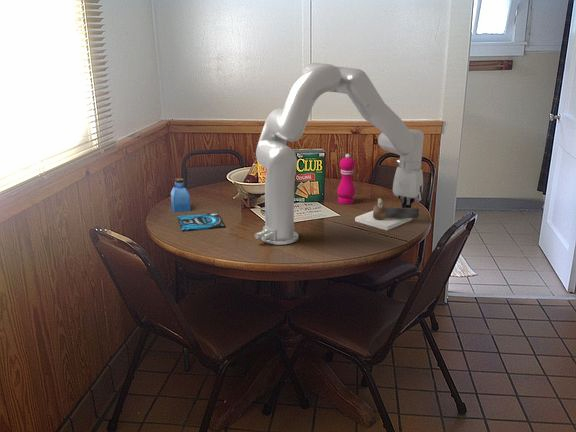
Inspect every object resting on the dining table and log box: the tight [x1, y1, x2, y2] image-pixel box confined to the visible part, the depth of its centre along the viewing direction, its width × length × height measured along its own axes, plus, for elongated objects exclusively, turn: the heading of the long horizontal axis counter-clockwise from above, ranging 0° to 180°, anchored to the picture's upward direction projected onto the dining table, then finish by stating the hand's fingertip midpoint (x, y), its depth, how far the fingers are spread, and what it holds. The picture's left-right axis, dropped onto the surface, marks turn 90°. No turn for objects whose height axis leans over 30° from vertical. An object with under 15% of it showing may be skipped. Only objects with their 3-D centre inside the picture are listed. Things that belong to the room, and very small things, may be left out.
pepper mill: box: [336, 153, 356, 205], centre depth 215 cm, size 7×7×20 cm
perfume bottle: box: [170, 177, 192, 213], centre depth 206 cm, size 6×6×12 cm
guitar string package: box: [177, 212, 227, 232], centre depth 193 cm, size 15×1×15 cm
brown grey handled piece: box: [372, 198, 420, 219], centre depth 193 cm, size 16×4×6 cm, turn 89°
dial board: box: [354, 210, 413, 231], centre depth 197 cm, size 16×15×2 cm
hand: (405, 213), depth 197 cm, fingers closed
